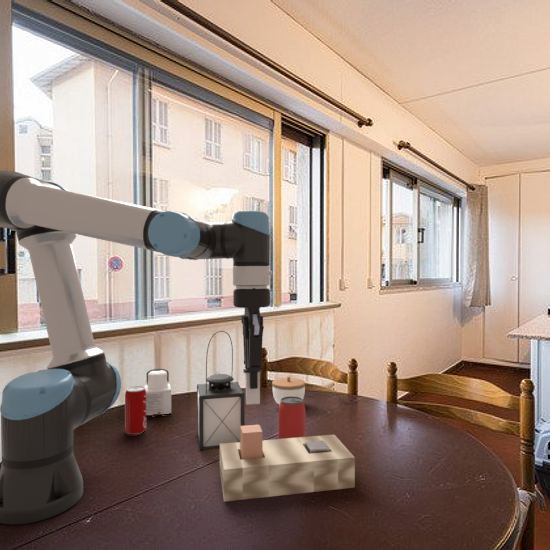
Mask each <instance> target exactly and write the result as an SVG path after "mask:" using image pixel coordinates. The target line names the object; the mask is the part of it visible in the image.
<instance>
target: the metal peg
mask: <svg viewBox="0 0 550 550" xmlns="http://www.w3.org/2000/svg"><path fill="white" fill-rule="evenodd" d="M305 448H306V450H307V452H308V453H309V454H310V453H321V452H329V447H328V446H327V445H326V444H325V442H324V441H312V442H305Z"/></svg>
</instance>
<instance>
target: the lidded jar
mask: <svg viewBox="0 0 550 550" xmlns="http://www.w3.org/2000/svg"><path fill="white" fill-rule="evenodd" d="M271 384H272V396H273V399H274V401H275V402H276V404H277V405H280V402H281V399H282V398H284V397H289V396H294V397H300V398H302V399H303V400H304V398H305V394H306V393H305V392H306V382H305V381H304V379H301V378H295V377H291V376H287V377H281V378H276V379H274V380H272V381H271Z"/></svg>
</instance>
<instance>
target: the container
mask: <svg viewBox="0 0 550 550" xmlns="http://www.w3.org/2000/svg"><path fill="white" fill-rule="evenodd" d="M169 374H170V373H169V371H168V369H165V368H154V369H149V370H148V371H147V372H146V385H144V387H145V390H146V415H153V414H169V413H171V414H172V389H171V388H172V387H171V383H169V382H170V379H169V378H170V377H169Z"/></svg>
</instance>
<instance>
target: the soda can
mask: <svg viewBox="0 0 550 550" xmlns="http://www.w3.org/2000/svg"><path fill="white" fill-rule="evenodd" d="M146 430H147V417H146V390H145V385H144V386H143V385H134V386H130V387H129V386H128V387H127V388H126V389H125V394H124V432H125V433H126V434H127V433H128V434H139V433H142V432H144V431H145V432H146ZM145 432H144V433H145ZM128 434H127V435H128ZM142 434H143V433H142ZM139 435H140V434H139Z"/></svg>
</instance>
